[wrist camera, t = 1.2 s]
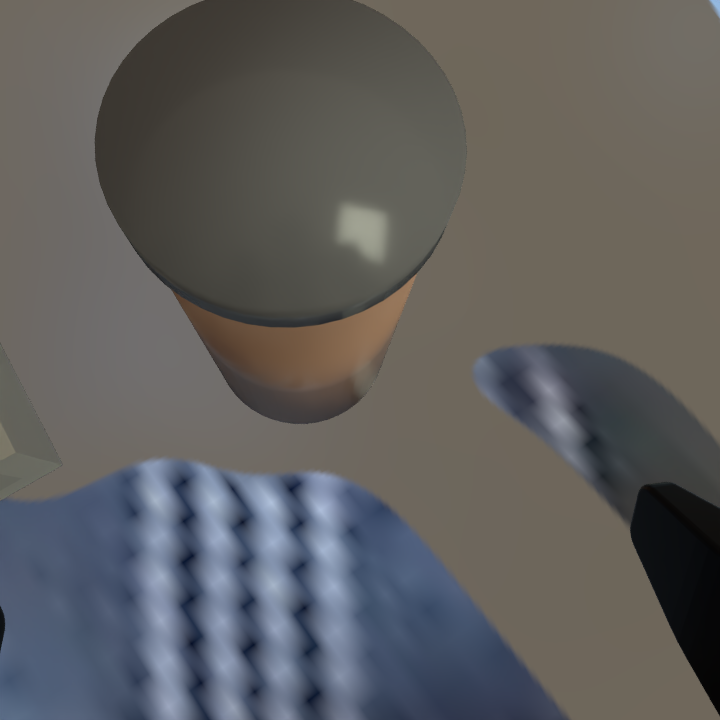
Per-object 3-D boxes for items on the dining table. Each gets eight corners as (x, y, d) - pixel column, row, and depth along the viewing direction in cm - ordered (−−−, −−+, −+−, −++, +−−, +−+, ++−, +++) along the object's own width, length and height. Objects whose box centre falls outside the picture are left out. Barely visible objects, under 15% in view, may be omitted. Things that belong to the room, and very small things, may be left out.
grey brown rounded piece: (341, 461, 22) (371, 375, 10) (177, 379, 22) (18, 204, 10) (418, 305, 24) (520, 74, 12) (264, 232, 24) (213, -63, 12)
